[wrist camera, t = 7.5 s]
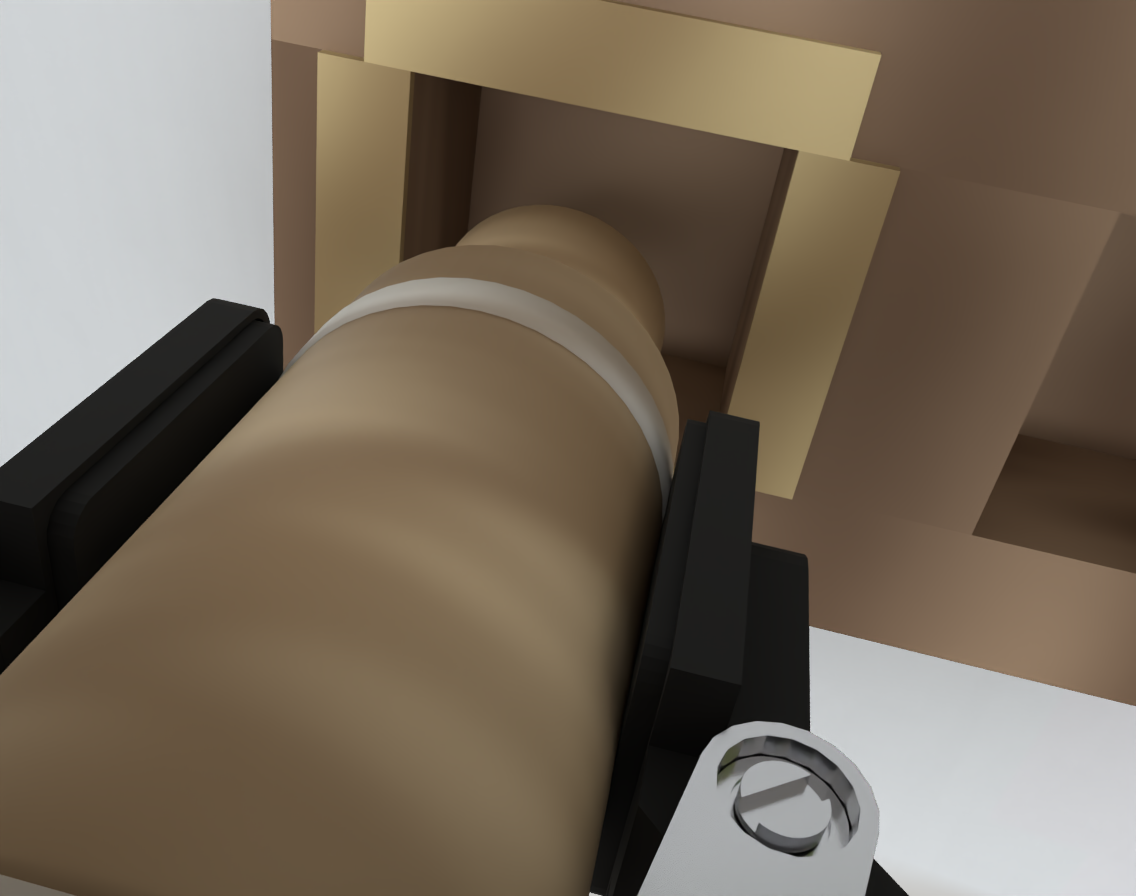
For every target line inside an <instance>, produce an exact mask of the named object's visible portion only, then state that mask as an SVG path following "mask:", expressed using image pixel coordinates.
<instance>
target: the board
mask: <svg viewBox="0 0 1136 896" xmlns="http://www.w3.org/2000/svg"><path fill="white" fill-rule="evenodd" d="M271 58H272V141H273V223H274V306H275V325H278V326H279V327H280V328H281V331H282V334H283V372H284V370H285V368H286V367H287V365H288V364H289V362H290V361H291V360H292V359H293V358H294V357H295V355H296V354H297V353H298V352H299V351H300V350H301V349H302V347H303V346H304V345H305V344H306V343H307V342H308V341H309V340H310V339H311V338H312V337H313V336H314V335H315V334H316V333H317V332H318V331H319V330H320V328H321V327H322V326H323V325H324V324H325V323H326V322H327V321H329V320H330V319H331V318H332V317H333V316H335V315H336V314H337V313H338V312H339V311H341V310H342V309H343V308H344V307H346V306H348V305H350V304H351V303H352V302H353V301H354V300H355V298H356V297H357V296H358V295H359V294H360V293H361V292H362V291H363V290H364V289H365V288H366V287H367V286H368V285H369V284H371V283H372V282H373V281H374V280H375V279H377V278H378V277H379V276H380V275H381V274H383V273H384V272H386V271H387V270H389V269H391V268H392V267H394V266H396V265H397V264H399V263H401V262H403V261H405V260H408V259H410V258H413V257H415V256H417V255H420V254H422V253H426V252H430V251H434V250H438V249H442V248H446V247H455V246H456V245H457V244H458V242H459V241H460V240H461V239H462V238H463V237H464V236H465V235H466V234H467V233H468V232H469V231H470V230H471V229H472V228H474V227H475V226H476V225H477V224H479V223H480V222H482V221H484V220H485V219H487V218H489V217H490V216H492V215H495V214H497V213H500V212H502V211H505V210H508V209H512V208H516V207H520V206H529V205H554V206H561V207H567V208H571V209H574V210H578V211H581V212H584V213H586V214H589V215H591V216H593V217H596V218H598V219H600V220H601V221H603V222H605V223H606V224H608V225H610V226H611V227H613V228H614V229H615V230H617V231H618V232H619V233H621V234H622V235H623V236H624V237H625V238H626V239H628V240H629V241H630V242H631V243H632V244H633V245H634V246H635V247H636V249H637V250H638V251H639V252H640V254H641V255H642V256H643V257H644V259H645V260H646V262H647V264H648V265H649V267H650V269H651V270H652V272H653V274H654V276H655V279H656V281H657V283H658V285H659V288H660V292H661V295H662V299H663V304H664V311H665V333H664V340H663V345H662V349H661V356H662V358H663V360H664V362H665V365H666V367H667V369H668V371H669V374H670V377H671V380H672V384H673V387H674V391H675V394H676V400H677V407H678V414H679V440H678V446H677V452H676V458H675V463H674V468H673V474H674V470H675V466H676V462H677V458H678V454H679V450H680V446H681V442H682V438H683V434H684V430H685V426H686V422H687V419H691V420H696V421H700V422H704V423H706V421H707V417H708V414H709V411H710V410H711V411H716V412H720V413H724V414H729V415H733V416H738V417H742V418H746V419H751V420H755V421H759V422H760V431H759V445H758V459H757V473H756V487H755V502H754V516H753V530H752V542H755V543H759V544H763V545H768V546H772V547H776V548H780V549H785V550H789V551H793V552H797V553H801V554H805V555H806V556H807V558H808V567H809V626H812V627H816V628H820V629H824V630H828V631H832V632H836V633H841V634H845V635H849V636H853V637H857V638H861V639H865V640H869V641H873V642H877V643H881V644H885V645H889V646H893V647H897V648H902V649H906V650H910V651H914V652H918V653H922V654H926V655H930V656H934V657H938V658H942V659H946V660H950V661H954V662H958V663H962V664H967V665H971V666H975V667H979V668H983V669H987V670H991V671H995V672H999V673H1003V674H1007V675H1011V676H1015V677H1019V678H1023V679H1028V680H1032V681H1036V682H1040V683H1044V684H1048V685H1052V686H1056V687H1060V688H1064V689H1068V690H1072V691H1076V692H1080V693H1084V694H1089V695H1093V696H1097V697H1101V698H1105V699H1109V700H1113V701H1117V702H1121V703H1125V704H1129V705H1133V706H1136V0H271Z"/></svg>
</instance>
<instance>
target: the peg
mask: <svg viewBox="0 0 1136 896" xmlns="http://www.w3.org/2000/svg"><path fill="white" fill-rule="evenodd" d="M664 333H665V311H664V304H663V299H662V295H661V292H660V288H659V285H658V283H657V281H656V279H655V276H654V274H653V272H652V270H651V269H650V267H649V265H648V264H647V262H646V260H645V259H644V257H643V256H642V255H641V254H640V252H639V251H638V250H637V249H636V247H635V246H634V245H633V244H632V243H631V242H630V241H629V240H628V239H626V238H625V237H624V236H623V235H622V234H621V233H619V232H618V231H617V230H615V229H614V228H613V227H611V226H610V225H608V224H606V223H605V222H603V221H601V220H600V219H598V218H596V217H593V216H591V215H589V214H586V213H584V212H581V211H578V210H574V209H571V208H567V207H561V206H554V205H529V206H520V207H516V208H512V209H508V210H505V211H502V212H500V213H497V214H495V215H492V216H490V217H489V218H487V219H485V220H484V221H482V222H480V223H479V224H477V225H476V226H475V227H474V228H472V229H471V230H470V231H469V232H468V233H467V234H466V235H465V236H464V237H463V238H462V239H461V240H460V241H459V242H458V244H457V245H456V246H455V247H446V248H442V249H438V250H434V251H430V252H426V253H422V254H420V255H417V256H415V257H413V258H410V259H408V260H405V261H403V262H401V263H399V264H397V265H396V266H394V267H392V268H391V269H389V270H387V271H386V272H384V273H383V274H381V275H380V276H379V277H378V278H377V279H375V280H374V281H373V282H372V283H371V284H369V285H368V286H367V287H366V288H365V289H364V290H363V291H362V292H361V293H360V294H359V295H358V296H357V297H356V298H355V300H354V301H353V302H352V303H351V304H350V305H348V306H346V307H344V308H343V309H342V310H341V311H339V312H338V313H337V314H336V315H335V316H333V317H332V318H331V319H330V320H329V321H327V322H326V323H325V324H324V325H323V326H322V327H321V328H320V330H319V331H318V332H317V333H316V334H315V335H314V336H313V337H312V338H311V339H310V340H309V341H308V342H307V343H306V344H305V345H304V346H303V347H302V349H301V350H300V351H299V352H298V353H297V354H296V355H295V357H294V358H293V359H292V360H291V361H290V362H289V364H288V365H287V367H286V368H285V370H284V372H283V373H282V375H281V376H280V378H279V380H278V381H277V382H276V383H275V384H274V385H273V386H272V388H271V389H270V390H269V391H268V392H267V393H266V394H265V395H264V396H263V397H262V398H261V399H260V400H259V401H258V402H257V403H256V404H255V406H254V407H253V408H252V409H251V410H250V411H249V412H248V413H247V414H246V415H245V416H244V417H243V418H242V419H241V420H240V421H239V423H238V424H237V425H236V426H235V427H234V428H233V429H232V430H231V431H230V432H229V433H228V434H227V435H226V436H225V437H224V438H223V439H222V441H221V442H220V443H219V444H218V445H217V446H216V447H215V448H214V449H213V450H212V451H211V452H210V453H209V454H208V455H207V456H206V458H205V459H204V460H203V461H202V462H201V463H200V464H199V465H198V466H197V467H196V468H195V469H194V470H193V471H192V472H191V473H190V474H189V476H188V477H187V478H186V479H185V480H184V481H183V482H182V483H181V484H180V485H179V486H178V487H177V488H176V489H175V490H174V491H173V493H172V494H171V495H170V496H169V497H168V498H167V499H166V500H165V501H164V502H163V503H162V504H161V505H160V506H159V507H158V508H157V509H156V511H155V512H154V513H153V514H152V515H151V516H150V517H149V518H148V519H147V520H146V521H145V522H144V523H143V524H142V525H141V526H140V527H139V529H138V530H137V531H136V532H135V533H134V534H133V535H132V536H131V537H130V538H129V539H128V540H127V541H126V542H125V543H124V544H123V546H122V547H121V548H120V549H119V550H118V551H117V552H116V553H115V554H114V555H113V556H112V557H111V558H110V559H109V560H108V561H107V562H106V564H105V565H104V566H103V567H102V568H101V569H100V570H99V571H98V572H97V573H96V574H95V575H94V576H93V577H92V578H91V579H90V581H89V582H88V583H87V584H86V585H85V586H84V587H83V588H82V589H81V590H80V591H79V592H78V593H77V594H76V595H75V596H74V597H73V599H72V600H71V601H70V602H69V603H68V604H67V605H66V606H65V607H64V608H63V609H62V610H61V611H60V612H59V613H58V614H57V616H56V617H55V618H54V619H53V620H52V621H51V622H50V623H49V624H48V625H47V626H46V627H45V628H44V629H43V630H42V631H41V632H40V634H39V635H38V636H37V637H36V638H35V639H34V640H33V641H32V642H31V643H30V644H29V645H28V646H27V647H26V648H25V649H24V651H23V652H22V653H21V654H20V655H19V656H18V657H17V658H16V659H15V660H14V661H13V662H12V663H11V664H10V665H9V666H8V667H7V669H6V670H5V671H4V672H3V673H2V674H1V675H0V874H1V875H4V876H8V877H11V878H15V879H18V880H22V881H26V882H29V883H33V884H36V885H40V886H43V887H47V888H50V889H54V890H58V891H61V892H65V893H68V894H72V895H75V896H589V892H590V887H591V882H592V877H593V872H594V867H595V862H596V857H597V852H598V847H599V842H600V837H601V832H602V827H603V822H604V817H605V811H606V806H607V801H608V796H609V791H610V785H611V778H612V772H613V767H614V762H615V757H616V752H617V747H618V742H619V737H620V732H621V727H622V722H623V717H624V712H625V707H626V702H627V697H628V692H629V687H630V682H631V677H632V672H633V667H634V662H635V657H636V652H637V647H638V642H639V637H640V632H641V627H642V622H643V617H644V612H645V607H646V602H647V597H648V592H649V587H650V582H651V577H652V572H653V567H654V562H655V557H656V552H657V547H658V542H659V537H660V532H661V527H662V523H663V519H664V515H665V511H666V507H667V503H668V498H669V493H670V488H671V483H672V478H673V468H674V463H675V458H676V452H677V446H678V440H679V414H678V407H677V400H676V394H675V391H674V387H673V384H672V380H671V377H670V374H669V371H668V369H667V367H666V365H665V362H664V360H663V358H662V356H661V349H662V345H663V340H664Z"/></svg>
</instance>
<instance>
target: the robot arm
mask: <svg viewBox="0 0 1136 896" xmlns="http://www.w3.org/2000/svg"><path fill="white" fill-rule="evenodd" d="M282 373H283V334H282V331H281V328H280V327H279V326H278V325H273V324H270V320H269V317H268V315H267V313H266V312H265V311H264V309H260V308H256V307H251V306H247V305H243V304H238V303H234V302H229V301H225V300H220V299H215V298H213V299H211V300H209V301H207V302H206V303H204V304H203V305H202V306H201V307H199V308H198V309H197V310H196V311H194V312H193V313H192V314H191V315H189V316H188V317H187V318H186V319H184V320H183V321H182V322H181V323H179V324H178V325H177V326H176V327H175V328H173V329H172V330H171V331H170V332H168V333H167V334H166V335H165V336H163V337H162V338H161V339H160V340H158V341H157V342H156V343H155V344H153V345H152V346H151V347H150V348H148V349H147V350H146V351H145V352H143V353H142V354H141V355H140V356H138V357H137V358H136V359H135V360H133V361H132V362H131V363H130V364H128V365H127V366H126V367H125V368H123V369H122V370H121V371H120V372H118V373H117V374H116V375H115V376H113V377H112V378H111V379H110V380H108V381H107V382H106V383H105V384H104V385H102V386H101V387H100V388H99V389H97V390H96V391H95V392H94V393H92V394H91V395H90V396H89V397H87V398H86V399H85V400H84V401H82V402H81V403H80V404H79V405H77V406H76V407H75V408H74V409H72V410H71V411H70V412H69V413H67V414H66V415H65V416H64V417H62V418H61V419H60V420H59V421H57V422H56V423H55V424H54V425H52V426H51V427H50V428H49V429H47V430H46V431H45V432H44V433H42V434H41V435H40V436H39V437H37V438H36V439H35V440H34V441H33V442H31V443H30V444H29V445H28V446H26V447H25V448H24V449H23V450H21V451H20V452H19V453H18V454H16V455H15V456H14V457H13V458H11V459H10V460H9V461H8V462H6V463H5V464H4V465H3V466H1V467H0V675H1V674H2V673H3V672H4V671H5V670H6V669H7V667H8V666H9V665H10V664H11V663H12V662H13V661H14V660H15V659H16V658H17V657H18V656H19V655H20V654H21V653H22V652H23V651H24V649H25V648H26V647H27V646H28V645H29V644H30V643H31V642H32V641H33V640H34V639H35V638H36V637H37V636H38V635H39V634H40V632H41V631H42V630H43V629H44V628H45V627H46V626H47V625H48V624H49V623H50V622H51V621H52V620H53V619H54V618H55V617H56V616H57V614H58V613H59V612H60V611H61V610H62V609H63V608H64V607H65V606H66V605H67V604H68V603H69V602H70V601H71V600H72V599H73V597H74V596H75V595H76V594H77V593H78V592H79V591H80V590H81V589H82V588H83V587H84V586H85V585H86V584H87V583H88V582H89V581H90V579H91V578H92V577H93V576H94V575H95V574H96V573H97V572H98V571H99V570H100V569H101V568H102V567H103V566H104V565H105V564H106V562H107V561H108V560H109V559H110V558H111V557H112V556H113V555H114V554H115V553H116V552H117V551H118V550H119V549H120V548H121V547H122V546H123V544H124V543H125V542H126V541H127V540H128V539H129V538H130V537H131V536H132V535H133V534H134V533H135V532H136V531H137V530H138V529H139V527H140V526H141V525H142V524H143V523H144V522H145V521H146V520H147V519H148V518H149V517H150V516H151V515H152V514H153V513H154V512H155V511H156V509H157V508H158V507H159V506H160V505H161V504H162V503H163V502H164V501H165V500H166V499H167V498H168V497H169V496H170V495H171V494H172V493H173V491H174V490H175V489H176V488H177V487H178V486H179V485H180V484H181V483H182V482H183V481H184V480H185V479H186V478H187V477H188V476H189V474H190V473H191V472H192V471H193V470H194V469H195V468H196V467H197V466H198V465H199V464H200V463H201V462H202V461H203V460H204V459H205V458H206V456H207V455H208V454H209V453H210V452H211V451H212V450H213V449H214V448H215V447H216V446H217V445H218V444H219V443H220V442H221V441H222V439H223V438H224V437H225V436H226V435H227V434H228V433H229V432H230V431H231V430H232V429H233V428H234V427H235V426H236V425H237V424H238V423H239V421H240V420H241V419H242V418H243V417H244V416H245V415H246V414H247V413H248V412H249V411H250V410H251V409H252V408H253V407H254V406H255V404H256V403H257V402H258V401H259V400H260V399H261V398H262V397H263V396H264V395H265V394H266V393H267V392H268V391H269V390H270V389H271V388H272V386H273V385H274V384H275V383H276V382H277V381H278V380H279V378H280V376H281V375H282ZM759 431H760V422H759V421H755V420H751V419H746V418H742V417H738V416H733V415H729V414H724V413H720V412H716V411H711V410H710V411H709V414H708V417H707V421H706V423H704V422H700V421H696V420H691V419H687V422H686V426H685V430H684V434H683V438H682V442H681V446H680V450H679V454H678V458H677V462H676V466H675V470H674V474H673V478H672V483H671V488H670V493H669V498H668V503H667V507H666V511H665V515H664V519H663V523H662V527H661V532H660V537H659V542H658V547H657V552H656V557H655V562H654V567H653V572H652V577H651V582H650V587H649V592H648V597H647V602H646V607H645V612H644V617H643V622H642V627H641V632H640V637H639V642H638V647H637V652H636V657H635V662H634V667H633V672H632V677H631V682H630V687H629V692H628V697H627V702H626V707H625V712H624V717H623V722H622V727H621V732H620V737H619V742H618V747H617V752H616V757H615V762H614V767H613V772H612V778H611V785H610V791H609V796H608V801H607V806H606V811H605V817H604V822H603V827H602V832H601V837H600V842H599V847H598V852H597V857H596V862H595V867H594V872H593V877H592V882H591V887H590V892H591V893H594V894H598V895H602V896H909V895H908V894H907V893H906V892H905V891H904V890H903V889H902V888H901V887H900V886H899V885H898V884H897V883H896V882H895V881H894V880H893V879H892V877H891V876H890V875H889V874H888V873H887V872H886V871H885V870H884V869H883V868H882V867H881V866H880V865H879V864H878V863H877V862H876V861H875V860H874V859H873V858H874V854H875V849H876V845H877V840H878V836H879V808H878V805H877V803H876V800H875V797H874V794H873V791H872V788H871V786H870V785H869V783H868V782H867V780H866V779H865V777H864V776H863V775H862V773H861V772H860V770H859V769H858V768H857V766H856V765H855V764H854V763H853V762H852V761H851V760H850V759H849V758H848V757H846V756H845V755H844V754H843V753H842V752H841V751H840V750H838V749H837V748H836V747H835V746H834V745H832V744H831V743H829V742H827V741H825V740H823V739H822V738H820V737H818V736H816V735H814V734H813V733H811V732H810V673H809V567H808V558H807V556H806V555H805V554H801V553H797V552H793V551H789V550H785V549H780V548H776V547H772V546H768V545H763V544H759V543H755V542H752V530H753V516H754V502H755V487H756V473H757V459H758V445H759ZM0 896H75V895H72V894H68V893H65V892H61V891H58V890H54V889H50V888H47V887H43V886H40V885H36V884H33V883H29V882H26V881H22V880H18V879H15V878H11V877H8V876H4V875H1V874H0Z"/></svg>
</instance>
